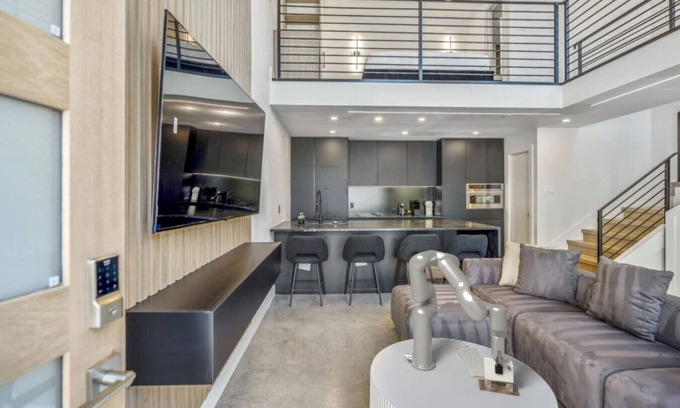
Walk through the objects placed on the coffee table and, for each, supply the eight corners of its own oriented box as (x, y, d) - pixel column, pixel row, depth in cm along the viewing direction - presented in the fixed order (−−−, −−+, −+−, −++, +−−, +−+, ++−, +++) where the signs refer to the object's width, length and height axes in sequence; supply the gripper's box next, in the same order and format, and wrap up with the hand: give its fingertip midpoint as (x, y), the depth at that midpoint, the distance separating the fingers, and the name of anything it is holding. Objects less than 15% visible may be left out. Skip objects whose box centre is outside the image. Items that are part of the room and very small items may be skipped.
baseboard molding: (467, 378, 167) (493, 380, 166) (467, 372, 167) (493, 374, 166) (455, 350, 198) (476, 351, 196) (455, 345, 198) (476, 346, 196)
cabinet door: (484, 380, 157) (484, 360, 157) (484, 376, 160) (483, 357, 160) (513, 383, 153) (513, 363, 153) (512, 379, 157) (511, 360, 157)
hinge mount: (479, 389, 156) (479, 381, 156) (478, 380, 164) (478, 372, 164) (518, 396, 151) (518, 387, 151) (515, 386, 159) (515, 378, 159)
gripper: (487, 325, 166) (487, 362, 166) (491, 338, 150) (491, 379, 151) (504, 326, 164) (504, 364, 164) (509, 340, 148) (510, 382, 148)
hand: (498, 371), depth 157 cm, fingers closed on cabinet door, 3 cm apart
